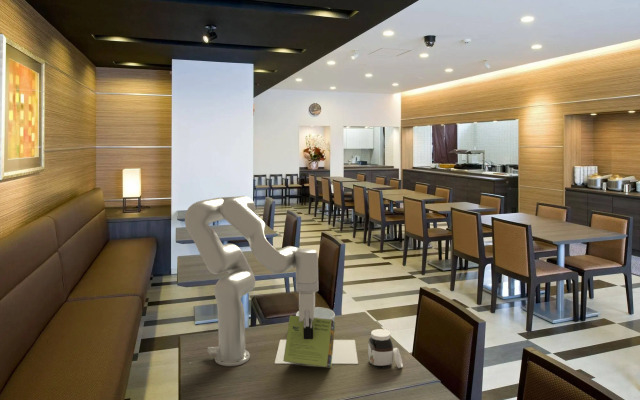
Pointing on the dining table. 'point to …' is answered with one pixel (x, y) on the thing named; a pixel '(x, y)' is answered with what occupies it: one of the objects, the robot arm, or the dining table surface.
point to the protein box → (310, 342)
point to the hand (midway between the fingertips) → (308, 338)
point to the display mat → (341, 354)
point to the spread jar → (382, 350)
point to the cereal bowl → (322, 313)
